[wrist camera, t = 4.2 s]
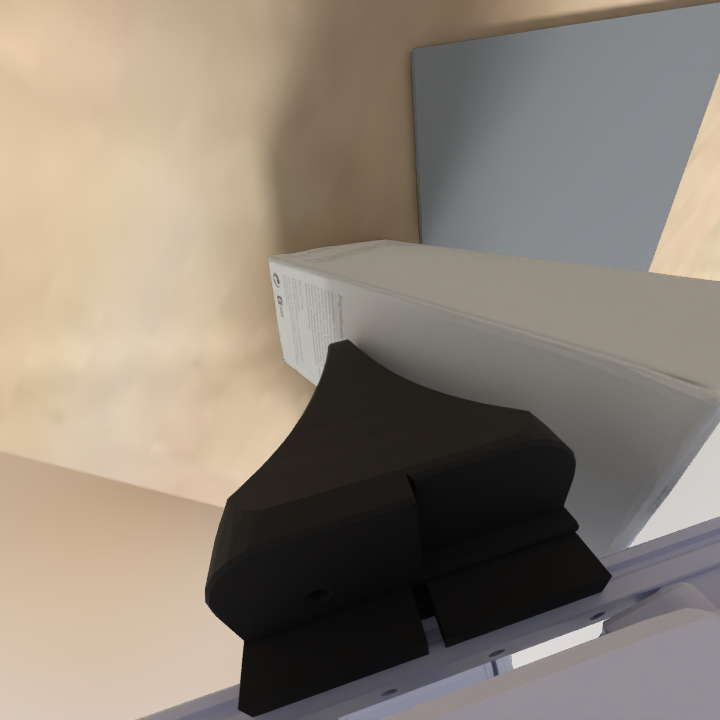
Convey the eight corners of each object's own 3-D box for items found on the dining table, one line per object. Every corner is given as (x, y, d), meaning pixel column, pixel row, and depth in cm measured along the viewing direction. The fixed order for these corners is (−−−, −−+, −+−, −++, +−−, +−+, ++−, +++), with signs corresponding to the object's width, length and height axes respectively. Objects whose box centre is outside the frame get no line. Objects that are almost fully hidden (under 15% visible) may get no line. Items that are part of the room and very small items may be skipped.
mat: (620, 336, 26) (624, 338, 26) (427, 387, 24) (429, 390, 24) (736, 2, 16) (746, -2, 15) (410, 52, 14) (413, 48, 14)
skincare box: (280, 359, 17) (572, 632, 6) (262, 245, 14) (762, 414, 3) (390, 323, 21) (669, 449, 11) (395, 231, 18) (788, 284, 8)
